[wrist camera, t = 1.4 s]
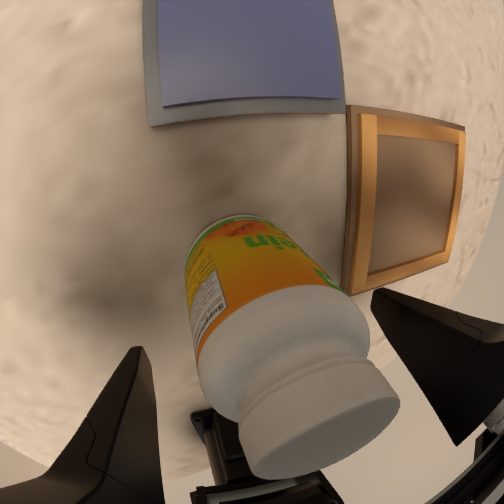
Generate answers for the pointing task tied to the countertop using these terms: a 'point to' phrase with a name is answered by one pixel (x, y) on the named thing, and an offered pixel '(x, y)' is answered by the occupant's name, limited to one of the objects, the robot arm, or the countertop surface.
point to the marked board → (399, 195)
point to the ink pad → (240, 59)
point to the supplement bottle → (281, 350)
